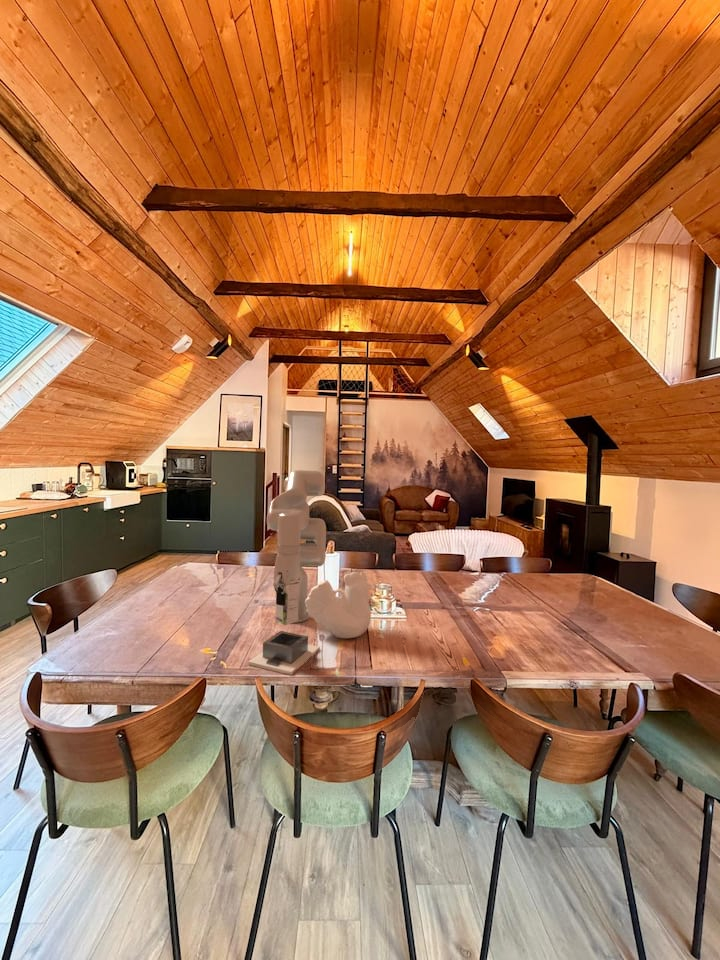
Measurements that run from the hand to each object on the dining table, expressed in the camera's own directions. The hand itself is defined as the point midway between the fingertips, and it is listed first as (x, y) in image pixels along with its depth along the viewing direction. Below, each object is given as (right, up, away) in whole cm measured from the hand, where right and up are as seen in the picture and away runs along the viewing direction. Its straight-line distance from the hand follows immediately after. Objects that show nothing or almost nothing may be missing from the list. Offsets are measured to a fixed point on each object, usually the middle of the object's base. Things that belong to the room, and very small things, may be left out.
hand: (287, 601), depth 148 cm
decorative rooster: (+16, -19, +23) cm, 34 cm away
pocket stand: (-1, -19, +1) cm, 19 cm away
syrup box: (0, -7, 0) cm, 7 cm away
